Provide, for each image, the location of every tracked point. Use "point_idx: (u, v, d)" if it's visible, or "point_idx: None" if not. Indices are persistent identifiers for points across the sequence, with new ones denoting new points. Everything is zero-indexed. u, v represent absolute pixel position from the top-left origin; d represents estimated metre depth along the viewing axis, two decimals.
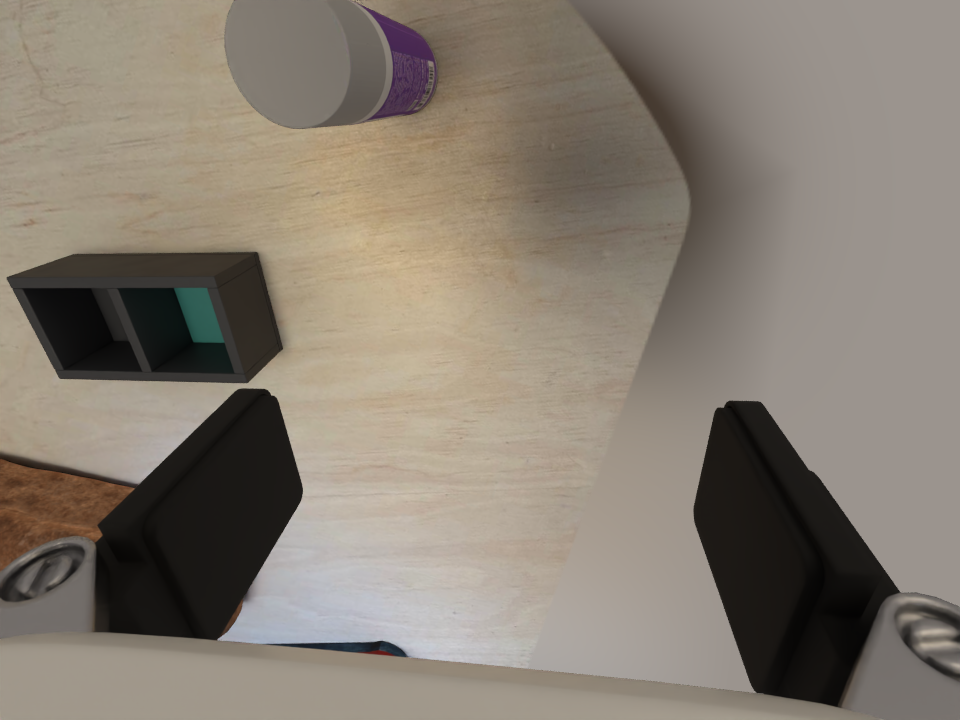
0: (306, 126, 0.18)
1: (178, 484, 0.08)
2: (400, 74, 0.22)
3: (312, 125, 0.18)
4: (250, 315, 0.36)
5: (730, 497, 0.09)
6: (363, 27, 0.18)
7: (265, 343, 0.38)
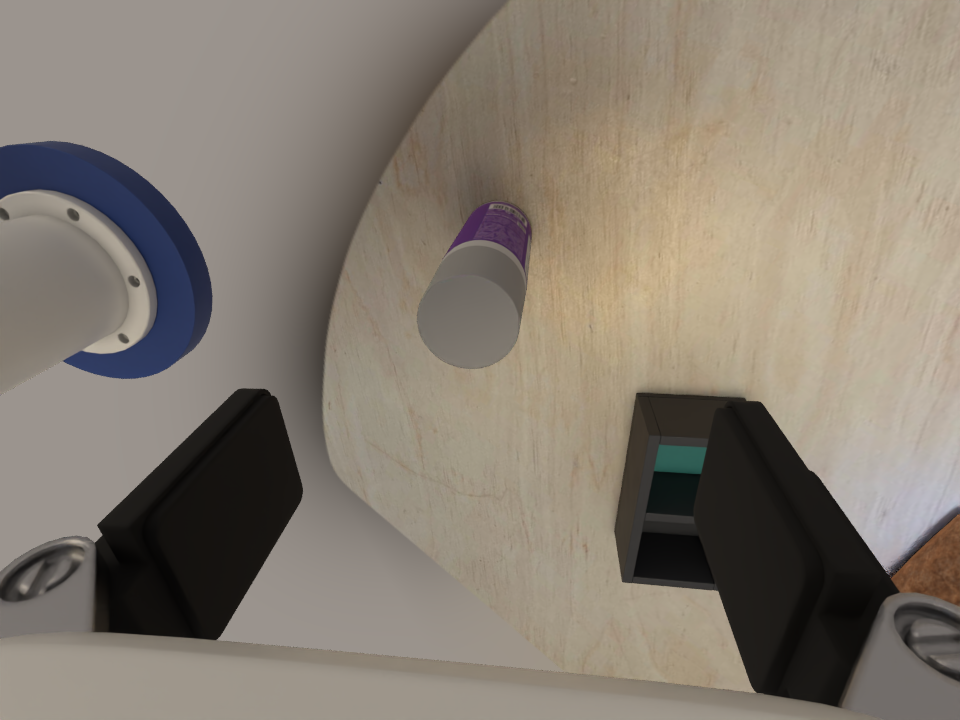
0: (517, 321, 0.21)
1: (178, 484, 0.08)
2: (491, 234, 0.25)
3: (517, 316, 0.20)
4: (697, 416, 0.36)
5: (730, 497, 0.09)
6: (452, 260, 0.22)
7: None
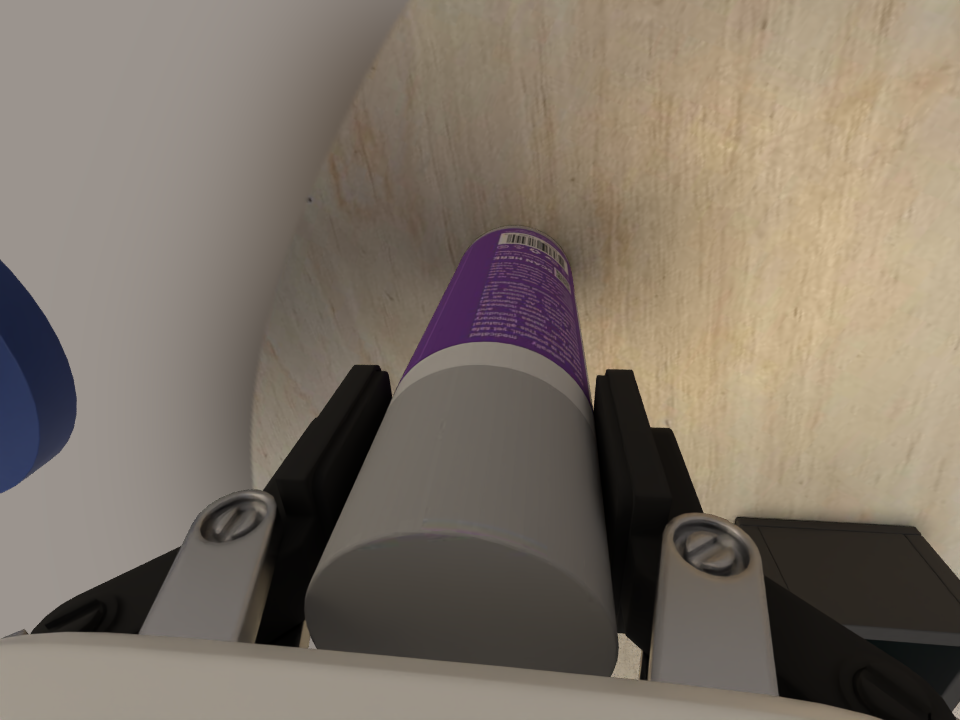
0: (614, 648, 0.07)
1: (332, 445, 0.09)
2: (512, 318, 0.11)
3: (613, 637, 0.06)
4: (852, 572, 0.21)
5: (599, 451, 0.10)
6: (413, 423, 0.08)
7: (907, 561, 0.22)
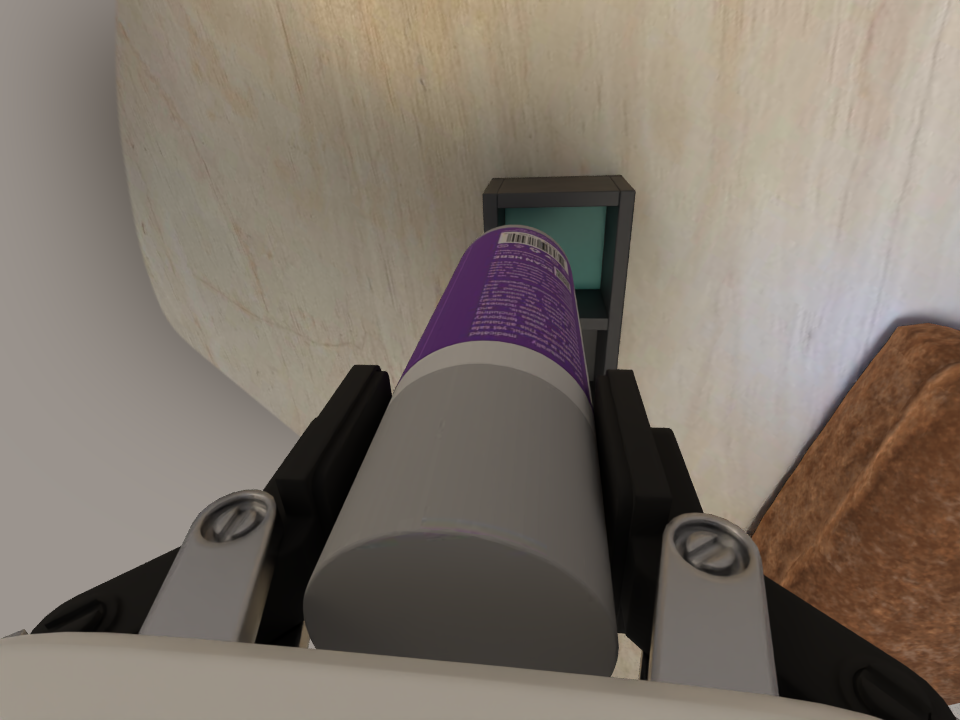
0: (614, 648, 0.06)
1: (332, 445, 0.09)
2: (511, 317, 0.11)
3: (613, 637, 0.06)
4: (553, 184, 0.28)
5: (599, 451, 0.10)
6: (413, 422, 0.08)
7: (599, 180, 0.29)
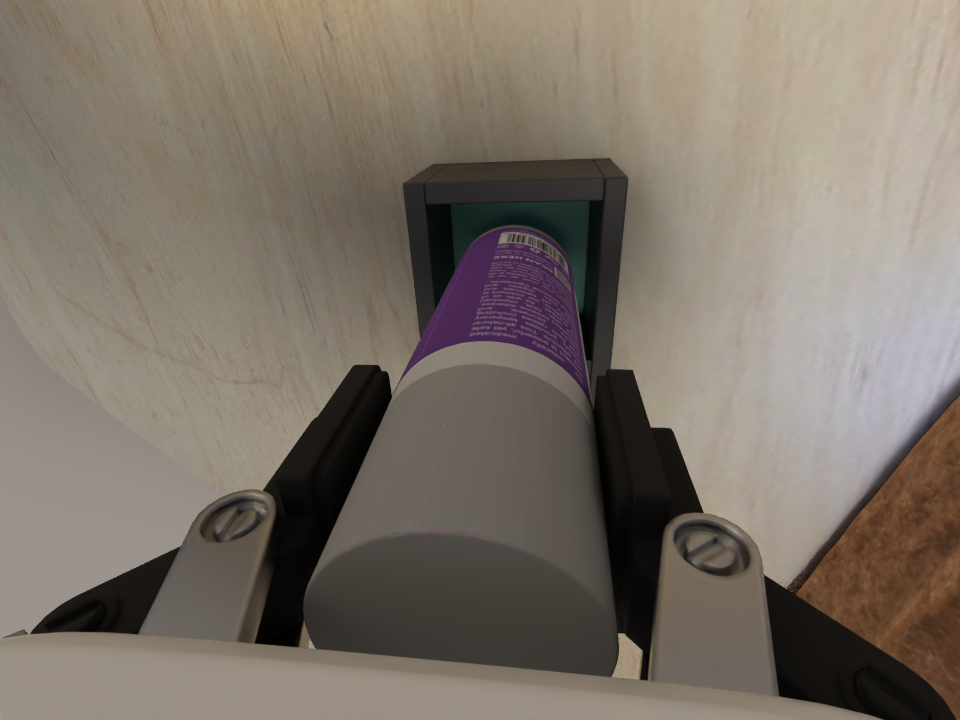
0: (614, 649, 0.06)
1: (332, 445, 0.09)
2: (512, 318, 0.11)
3: (614, 638, 0.06)
4: (510, 170, 0.20)
5: (599, 451, 0.10)
6: (413, 422, 0.08)
7: (577, 165, 0.20)
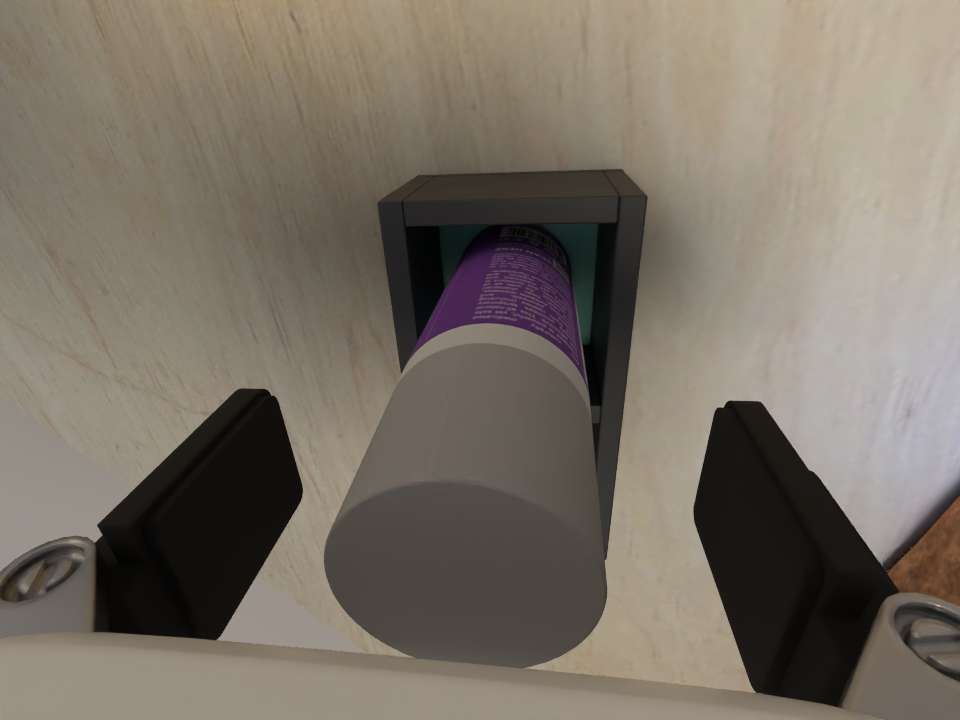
0: (603, 590, 0.07)
1: (178, 484, 0.08)
2: (512, 303, 0.12)
3: (602, 579, 0.07)
4: (506, 184, 0.17)
5: (730, 497, 0.09)
6: (421, 393, 0.09)
7: (585, 178, 0.17)
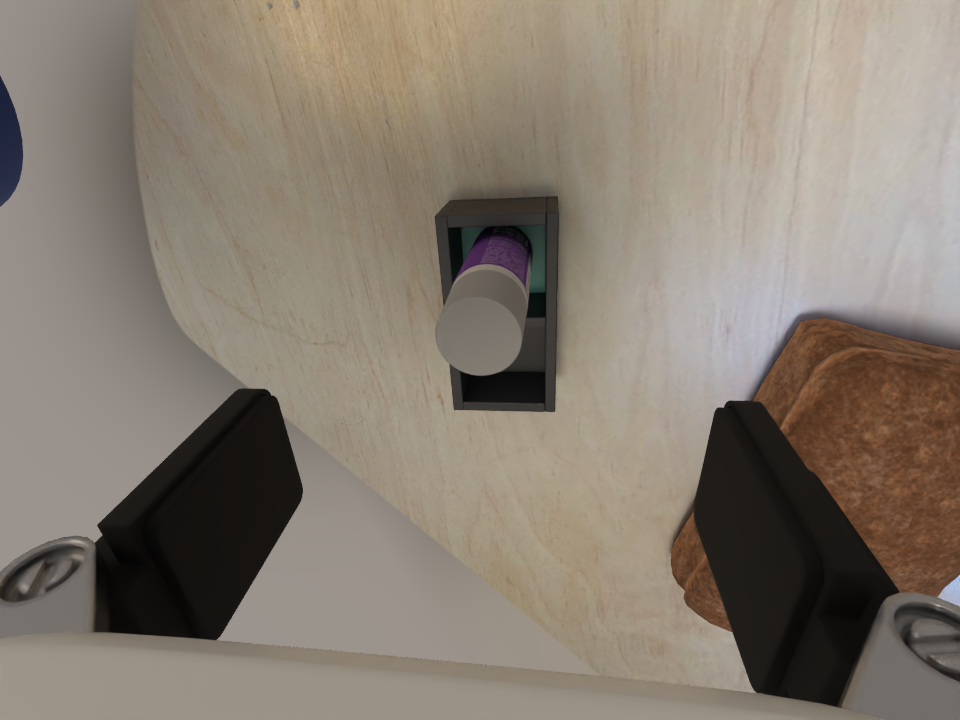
0: (520, 334, 0.24)
1: (178, 484, 0.08)
2: (496, 258, 0.29)
3: (520, 330, 0.24)
4: (496, 206, 0.34)
5: (730, 497, 0.09)
6: (463, 283, 0.26)
7: (535, 202, 0.34)
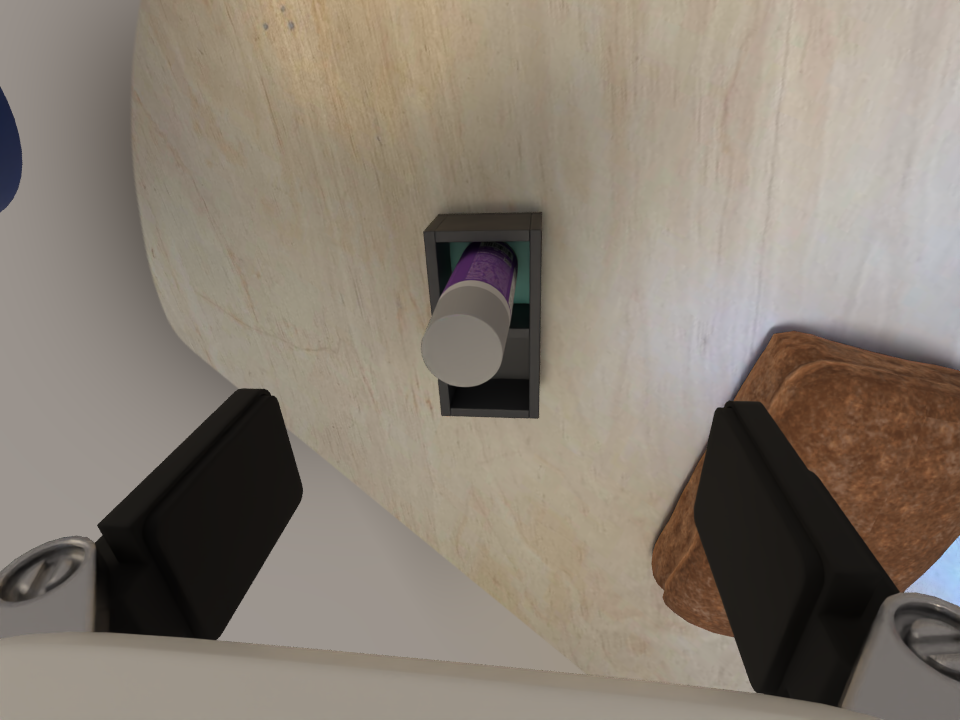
0: (501, 349, 0.26)
1: (178, 484, 0.08)
2: (481, 274, 0.30)
3: (500, 345, 0.26)
4: (482, 221, 0.35)
5: (730, 497, 0.09)
6: (448, 299, 0.27)
7: (520, 218, 0.36)
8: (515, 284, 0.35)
